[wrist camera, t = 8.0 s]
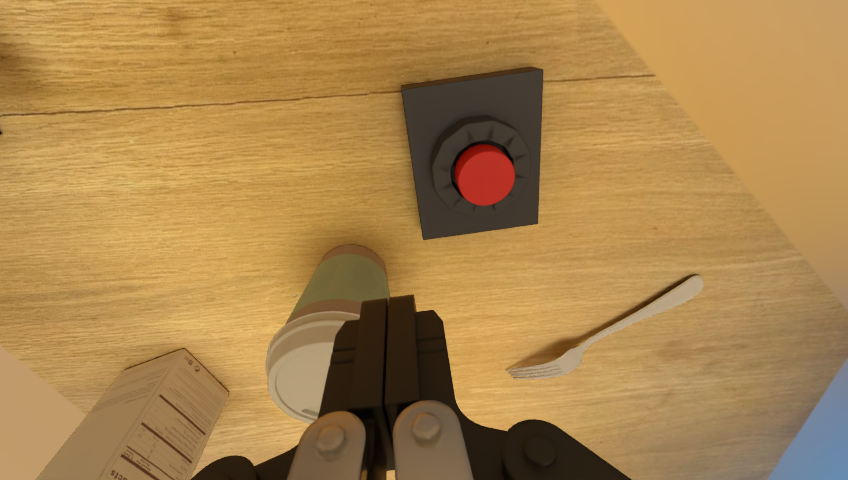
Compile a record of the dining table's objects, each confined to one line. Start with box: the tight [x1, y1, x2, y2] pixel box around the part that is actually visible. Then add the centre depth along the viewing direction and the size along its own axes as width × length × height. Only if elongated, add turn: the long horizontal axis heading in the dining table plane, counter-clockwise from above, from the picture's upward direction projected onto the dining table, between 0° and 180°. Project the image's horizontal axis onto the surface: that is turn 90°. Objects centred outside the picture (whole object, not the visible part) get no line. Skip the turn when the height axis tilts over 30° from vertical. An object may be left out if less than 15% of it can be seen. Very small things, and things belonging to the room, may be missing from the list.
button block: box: [401, 67, 543, 240], centre depth 26 cm, size 11×9×4 cm
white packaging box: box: [36, 349, 229, 480], centre depth 32 cm, size 7×7×13 cm
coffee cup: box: [266, 245, 390, 424], centre depth 27 cm, size 8×9×12 cm
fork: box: [506, 275, 704, 379], centre depth 37 cm, size 3×21×3 cm, turn 125°
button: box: [455, 144, 515, 206], centre depth 24 cm, size 4×4×2 cm
